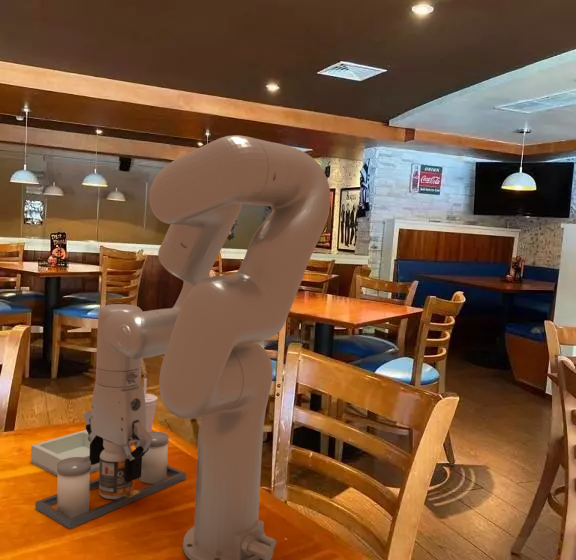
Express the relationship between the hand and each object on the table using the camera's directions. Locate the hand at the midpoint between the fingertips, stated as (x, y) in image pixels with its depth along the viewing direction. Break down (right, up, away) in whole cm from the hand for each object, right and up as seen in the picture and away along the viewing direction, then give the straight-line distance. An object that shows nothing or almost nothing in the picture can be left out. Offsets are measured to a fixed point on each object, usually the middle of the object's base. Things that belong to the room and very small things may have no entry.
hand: (114, 470), depth 104 cm
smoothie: (-1, -2, +25) cm, 25 cm away
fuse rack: (0, -4, 0) cm, 4 cm away
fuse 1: (-5, -4, -7) cm, 9 cm away
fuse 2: (+5, -4, +7) cm, 9 cm away
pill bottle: (0, -4, 0) cm, 4 cm away
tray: (-11, -2, +12) cm, 16 cm away
